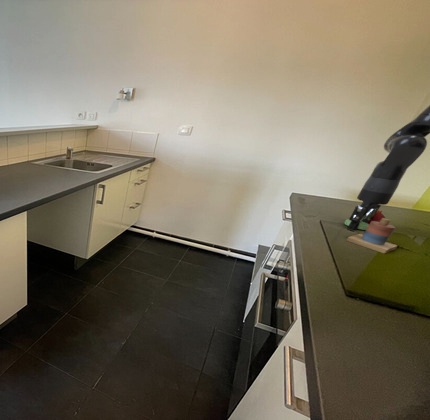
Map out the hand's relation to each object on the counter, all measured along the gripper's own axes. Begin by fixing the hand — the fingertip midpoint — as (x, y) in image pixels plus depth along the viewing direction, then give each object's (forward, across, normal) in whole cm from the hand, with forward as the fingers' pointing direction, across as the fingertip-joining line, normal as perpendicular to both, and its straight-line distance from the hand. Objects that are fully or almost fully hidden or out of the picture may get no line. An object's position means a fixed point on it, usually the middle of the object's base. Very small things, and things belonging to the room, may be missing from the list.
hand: (354, 229), depth 97 cm
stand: (0, -13, -8) cm, 15 cm away
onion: (0, +9, -1) cm, 9 cm away
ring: (-1, 0, 0) cm, 1 cm away
